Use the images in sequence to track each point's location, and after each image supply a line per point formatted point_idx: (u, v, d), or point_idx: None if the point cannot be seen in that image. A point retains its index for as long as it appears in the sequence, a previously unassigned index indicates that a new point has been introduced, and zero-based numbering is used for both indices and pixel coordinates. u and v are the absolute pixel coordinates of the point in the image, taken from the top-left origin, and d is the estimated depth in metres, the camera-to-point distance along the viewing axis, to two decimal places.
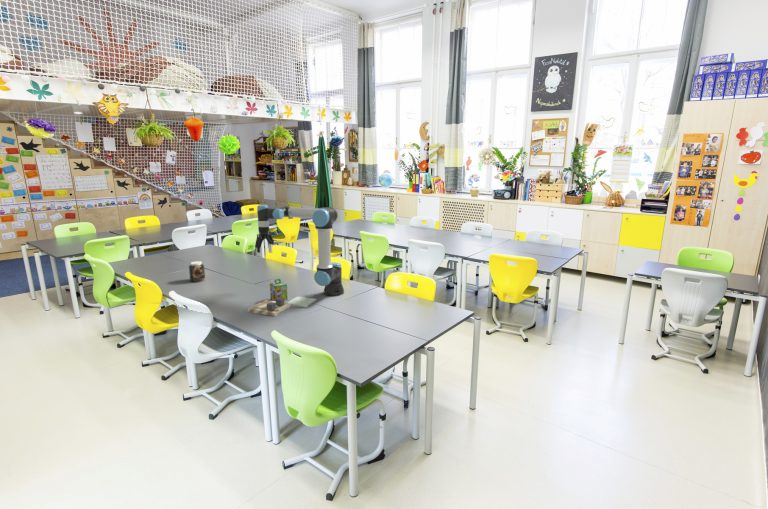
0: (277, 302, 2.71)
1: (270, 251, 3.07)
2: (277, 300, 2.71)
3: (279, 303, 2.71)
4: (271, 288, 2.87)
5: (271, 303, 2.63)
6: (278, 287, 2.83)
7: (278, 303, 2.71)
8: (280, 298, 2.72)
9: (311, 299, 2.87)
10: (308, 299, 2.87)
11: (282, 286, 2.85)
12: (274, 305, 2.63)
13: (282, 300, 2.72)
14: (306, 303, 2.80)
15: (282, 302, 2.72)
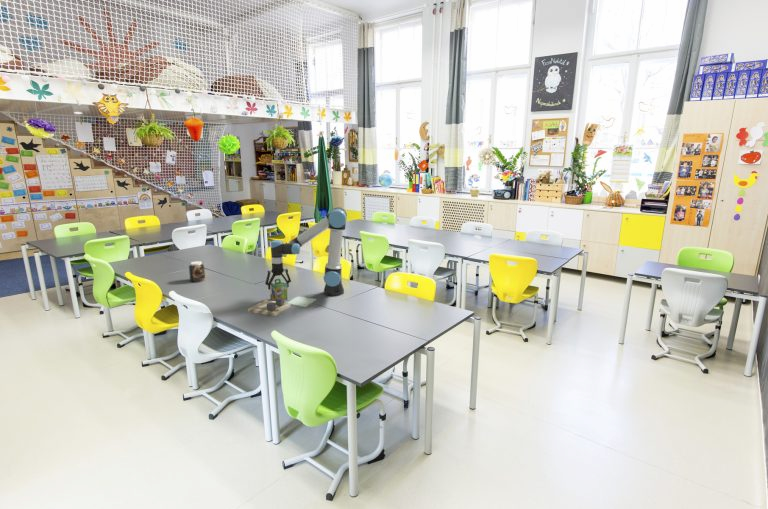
0: (277, 302, 2.71)
1: None
2: (277, 300, 2.71)
3: (279, 303, 2.71)
4: None
5: (271, 303, 2.63)
6: (278, 287, 2.83)
7: (278, 303, 2.71)
8: (280, 298, 2.72)
9: (311, 299, 2.87)
10: (308, 299, 2.87)
11: (282, 286, 2.85)
12: (274, 305, 2.63)
13: (282, 300, 2.72)
14: (306, 303, 2.80)
15: (282, 302, 2.72)
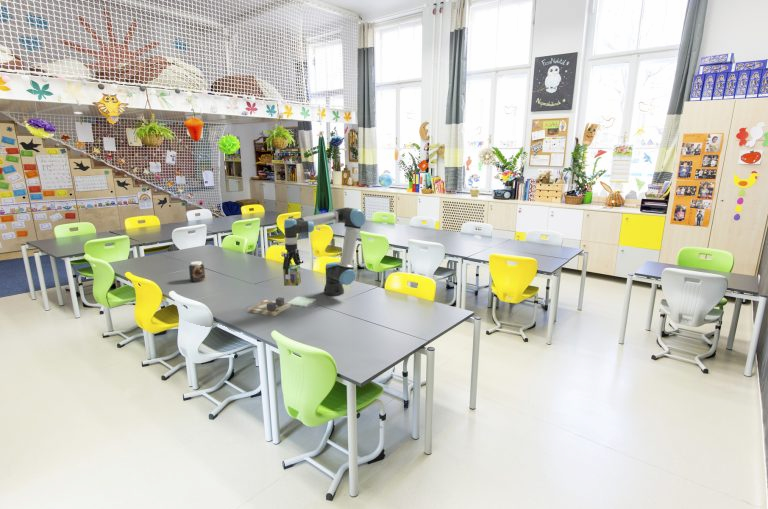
0: (277, 302, 2.71)
1: None
2: (277, 300, 2.71)
3: (279, 303, 2.71)
4: None
5: (271, 303, 2.63)
6: (297, 269, 2.61)
7: (278, 303, 2.71)
8: (280, 298, 2.72)
9: (311, 299, 2.87)
10: (308, 299, 2.87)
11: (299, 267, 2.64)
12: (274, 305, 2.63)
13: (282, 300, 2.72)
14: (306, 303, 2.80)
15: (282, 302, 2.72)
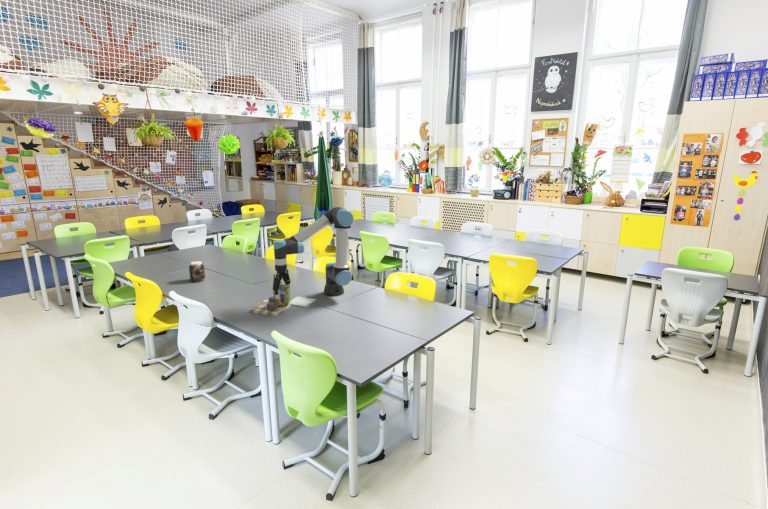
0: (270, 301, 2.73)
1: None
2: (270, 299, 2.72)
3: None
4: None
5: (271, 303, 2.63)
6: (287, 289, 2.67)
7: None
8: (273, 297, 2.74)
9: (311, 299, 2.87)
10: (308, 299, 2.87)
11: (288, 287, 2.71)
12: (274, 305, 2.63)
13: None
14: (306, 303, 2.80)
15: None
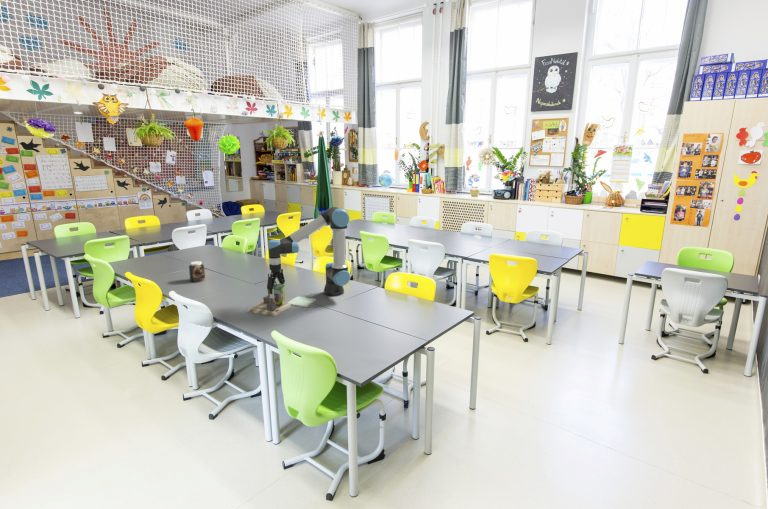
0: (265, 300, 2.74)
1: None
2: (265, 298, 2.74)
3: (267, 301, 2.74)
4: None
5: (271, 303, 2.63)
6: (281, 288, 2.69)
7: (266, 301, 2.74)
8: None
9: (311, 299, 2.87)
10: (308, 299, 2.87)
11: (283, 287, 2.72)
12: (274, 305, 2.63)
13: None
14: (306, 303, 2.80)
15: None
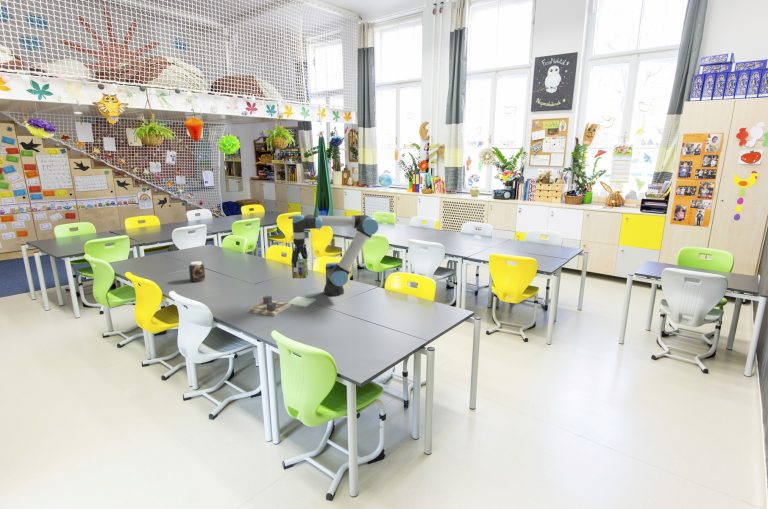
0: (264, 300, 2.74)
1: None
2: (264, 298, 2.74)
3: (266, 301, 2.74)
4: None
5: (271, 303, 2.63)
6: (305, 262, 2.75)
7: (265, 301, 2.74)
8: (267, 296, 2.75)
9: (311, 299, 2.87)
10: (308, 299, 2.87)
11: (306, 261, 2.78)
12: (274, 305, 2.63)
13: (269, 298, 2.75)
14: (306, 303, 2.80)
15: (269, 300, 2.75)
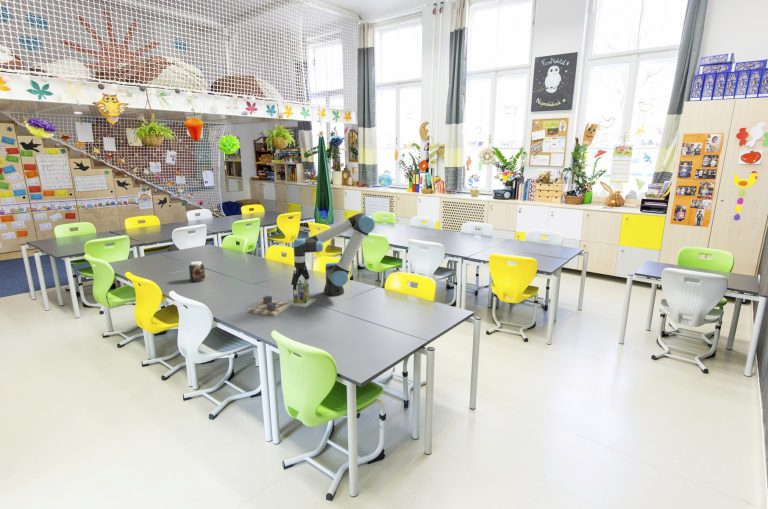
0: (264, 300, 2.74)
1: None
2: (264, 298, 2.74)
3: (266, 301, 2.74)
4: None
5: (271, 303, 2.63)
6: (306, 287, 2.79)
7: (265, 301, 2.74)
8: (267, 296, 2.75)
9: (311, 299, 2.87)
10: None
11: (307, 286, 2.82)
12: (274, 305, 2.63)
13: (269, 298, 2.75)
14: (306, 303, 2.80)
15: (269, 300, 2.75)
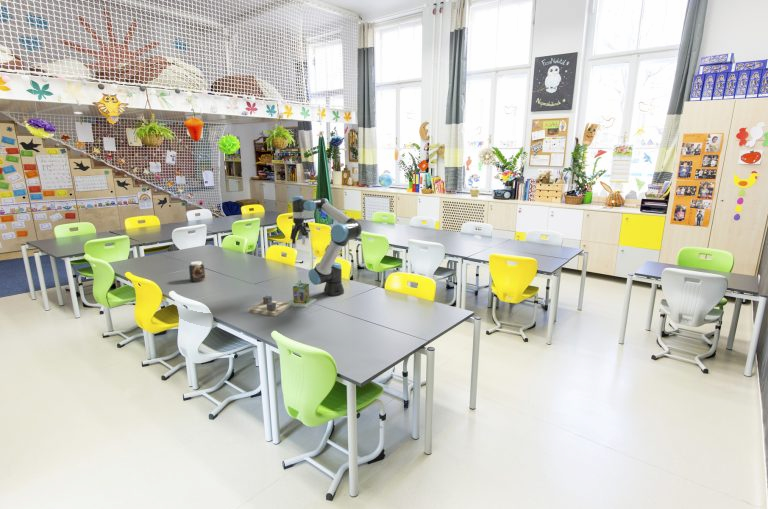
0: (264, 300, 2.74)
1: (304, 243, 3.06)
2: (264, 298, 2.74)
3: (266, 301, 2.74)
4: (295, 290, 2.78)
5: (271, 303, 2.63)
6: (306, 287, 2.79)
7: (265, 301, 2.74)
8: (267, 296, 2.75)
9: (311, 299, 2.87)
10: None
11: (307, 286, 2.82)
12: (274, 305, 2.63)
13: (269, 298, 2.75)
14: (306, 303, 2.80)
15: (269, 300, 2.75)
